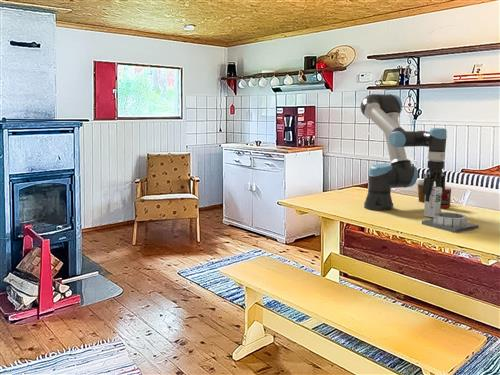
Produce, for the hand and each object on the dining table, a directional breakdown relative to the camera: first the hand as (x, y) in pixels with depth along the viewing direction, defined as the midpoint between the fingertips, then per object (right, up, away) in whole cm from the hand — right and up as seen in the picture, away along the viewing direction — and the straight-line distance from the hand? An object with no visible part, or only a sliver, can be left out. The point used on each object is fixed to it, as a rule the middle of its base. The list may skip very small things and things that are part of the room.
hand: (432, 207), depth 233 cm
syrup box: (0, -5, +1) cm, 5 cm away
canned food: (+14, -1, +24) cm, 28 cm away
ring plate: (+1, -8, -17) cm, 19 cm away
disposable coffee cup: (+11, +1, +40) cm, 41 cm away
